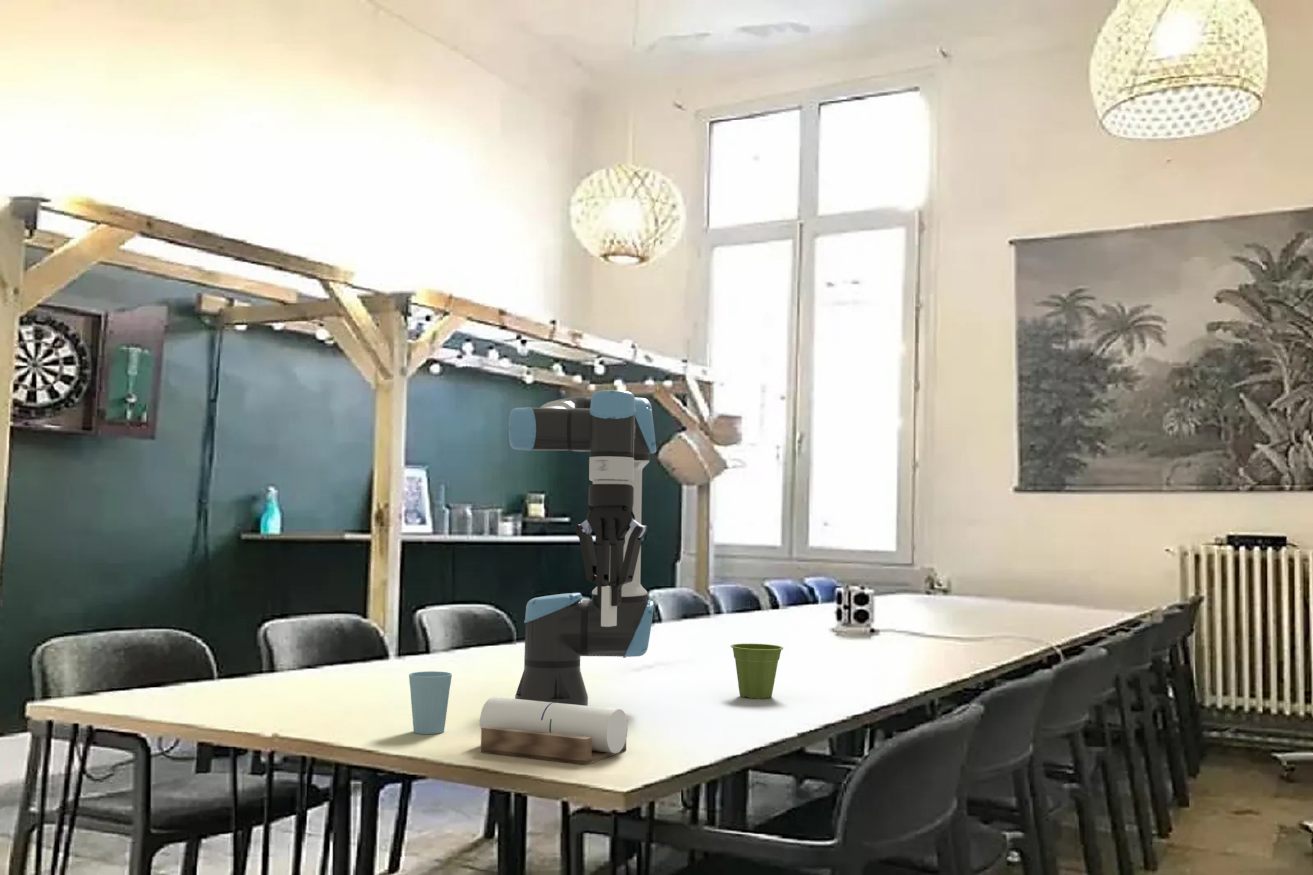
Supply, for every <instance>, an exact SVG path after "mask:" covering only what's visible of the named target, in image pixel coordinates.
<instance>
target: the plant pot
mask: <svg viewBox="0 0 1313 875" xmlns="http://www.w3.org/2000/svg"><path fill="white" fill-rule="evenodd" d="M730 648H731V649H732V652H733V658H734V661H735V670H736V677H737V683H738V685H737V686H738V691H739V693H738V694H739V696H740V697H742V698H746V697H748V698H749V699H752V700H753V699H754V700H755V699H759V700H763V699H767V698H772V697H773V691H774V686H775V681H776V680H775V679H776V674H777V668H778V663H779V660H780V657H781V654H782V651H783V650H784V646H782V645H776V644H768V643H734V644H730Z"/></svg>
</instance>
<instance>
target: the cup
mask: <svg viewBox="0 0 1313 875" xmlns="http://www.w3.org/2000/svg"><path fill="white" fill-rule="evenodd" d="M452 676H453V675H452V673H451V672H447V671H433V670H432V671H431V670H429V671H417V672H411V673H409V674H408V677H409V678H408V679H409V688H410V689H409V690H410V700H411V701H410V703H411V713H412V714H411V715H412V727H413V728H412V730H413V733H414V732H415V734H419V735H436V734H437V735H439V734H441V733H444V732H445V727H446V721H447V720H446V719H447V714H448V713H447V712H448V705H449V696H450V688H451V683H452Z"/></svg>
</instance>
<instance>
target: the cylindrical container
mask: <svg viewBox="0 0 1313 875" xmlns="http://www.w3.org/2000/svg"><path fill="white" fill-rule="evenodd" d="M481 708H482V709H481V711H480V715H479V716H480V717H479V726H480V729H481V728H483V727H487V726H492V727H502V728H511V729H520V730H529V731H538V732H548V733H557V734H566V735H575V736H585V737H592V751H598V752H607V753H617V754H619V753H618V752H620V751H621V750H622V748H623V746H624V744H625V742H626V743H627V738H628V734H629V733H628V726H629V724H628V723H629V722H628V716H627V714H626V713H625V711H624V710H623V709H621V708H613V707H603V706H601V707H600V706H593V705H592V706H591V705H588V706H583V705H573V704H563V703H553V702H543V701H532V700H522V699H515V698H510V697H501V696H499V697H498V696H491V697H489V698H488V699H487V700H486V701H485V703H484V704H483V707H481ZM620 753H621V752H620Z"/></svg>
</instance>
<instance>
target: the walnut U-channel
mask: <svg viewBox="0 0 1313 875" xmlns="http://www.w3.org/2000/svg"><path fill="white" fill-rule="evenodd" d="M480 732H481V733H480V753H483V754H486V753H487V754H493V755H501V756H502V755H503V756H509V757H516V758H517V757H519V758H528V759H535V760H543V761H549V762H558V763H559V762H560V763H568V764H577V765H582V766H583V765H584V766H586V765H589V764H591V763H594V762H597V761H599V760H603V759H605V758H608V757H611V756H613V755H617V754H619V753H622V752H625V751H627V741H626V742H625V744H624V746H623V748H622V750H621V751H620V752H618V753H607V752H598V751H592V737H585V736H575V735H566V734H557V733H548V732H538V731H529V730H520V729H511V728H502V727H492V726H487V727H483V728H481V727H480Z"/></svg>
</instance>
